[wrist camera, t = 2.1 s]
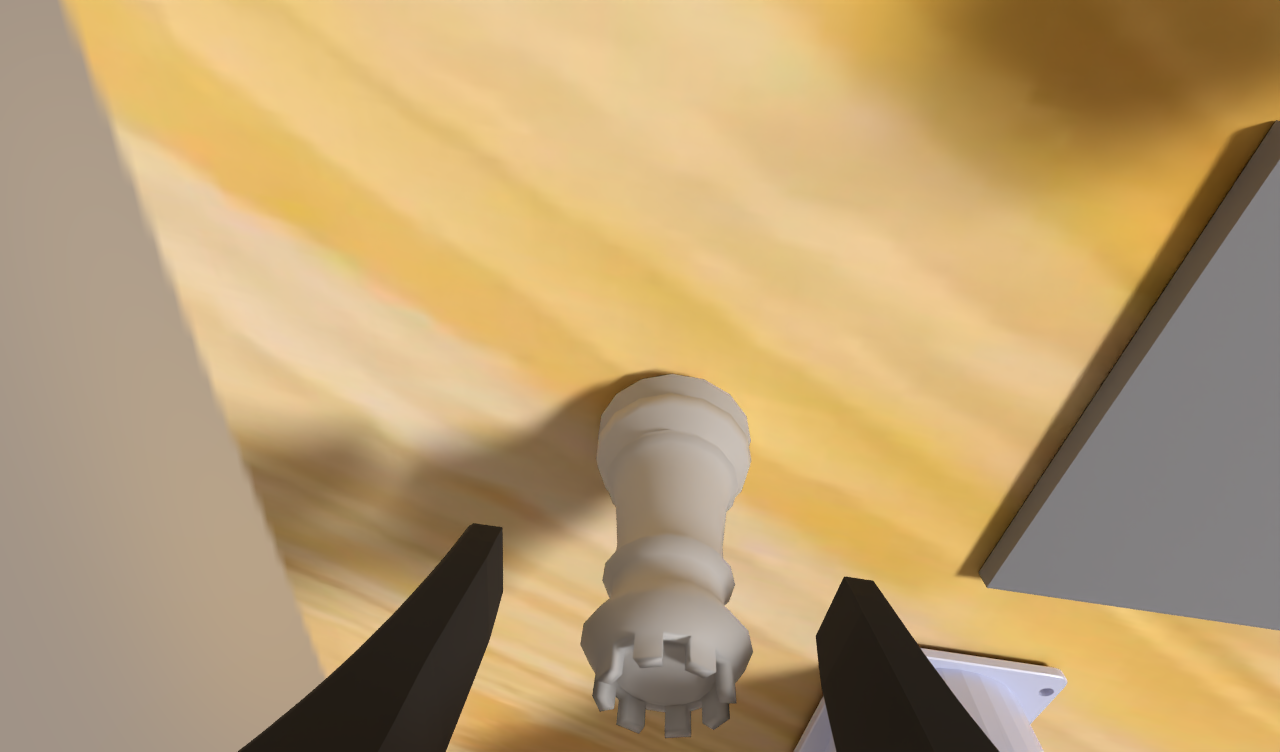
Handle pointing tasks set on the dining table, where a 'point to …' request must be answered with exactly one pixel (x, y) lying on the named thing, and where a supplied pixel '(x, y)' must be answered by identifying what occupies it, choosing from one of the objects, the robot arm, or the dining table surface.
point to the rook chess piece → (669, 555)
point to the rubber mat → (1177, 443)
